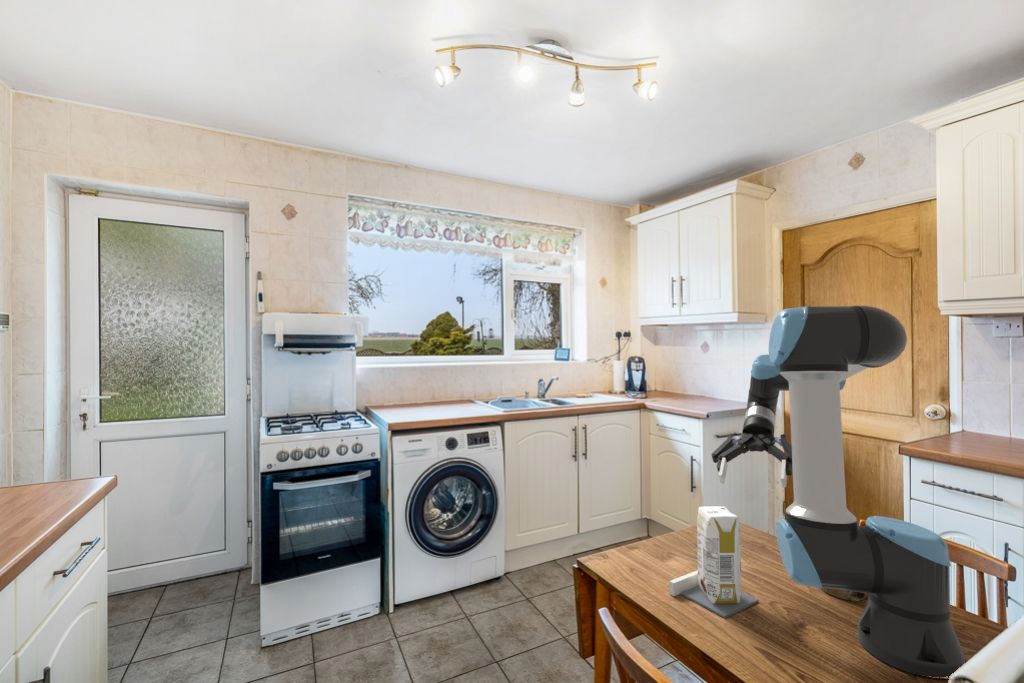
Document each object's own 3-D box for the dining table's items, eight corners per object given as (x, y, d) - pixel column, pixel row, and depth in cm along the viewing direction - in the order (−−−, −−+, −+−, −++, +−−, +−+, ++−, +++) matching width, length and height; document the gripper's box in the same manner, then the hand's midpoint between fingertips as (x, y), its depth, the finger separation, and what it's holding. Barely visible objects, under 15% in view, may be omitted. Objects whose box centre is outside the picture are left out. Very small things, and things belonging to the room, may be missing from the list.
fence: (718, 578, 115) (717, 565, 115) (673, 596, 107) (673, 583, 107) (713, 576, 116) (713, 563, 116) (669, 594, 108) (669, 581, 108)
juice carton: (710, 606, 102) (709, 518, 102) (694, 586, 110) (693, 505, 111) (745, 606, 102) (744, 517, 102) (727, 585, 110) (725, 504, 111)
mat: (758, 601, 104) (758, 599, 104) (724, 618, 98) (724, 616, 98) (714, 581, 114) (714, 578, 114) (681, 594, 108) (681, 592, 108)
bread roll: (836, 616, 105) (850, 591, 102) (801, 577, 114) (812, 553, 111) (871, 610, 107) (886, 585, 104) (834, 572, 116) (846, 548, 113)
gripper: (814, 437, 123) (814, 497, 108) (714, 436, 138) (701, 489, 122) (810, 414, 121) (809, 471, 105) (708, 415, 135) (694, 466, 120)
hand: (751, 481), depth 114 cm, fingers open, 13 cm apart
